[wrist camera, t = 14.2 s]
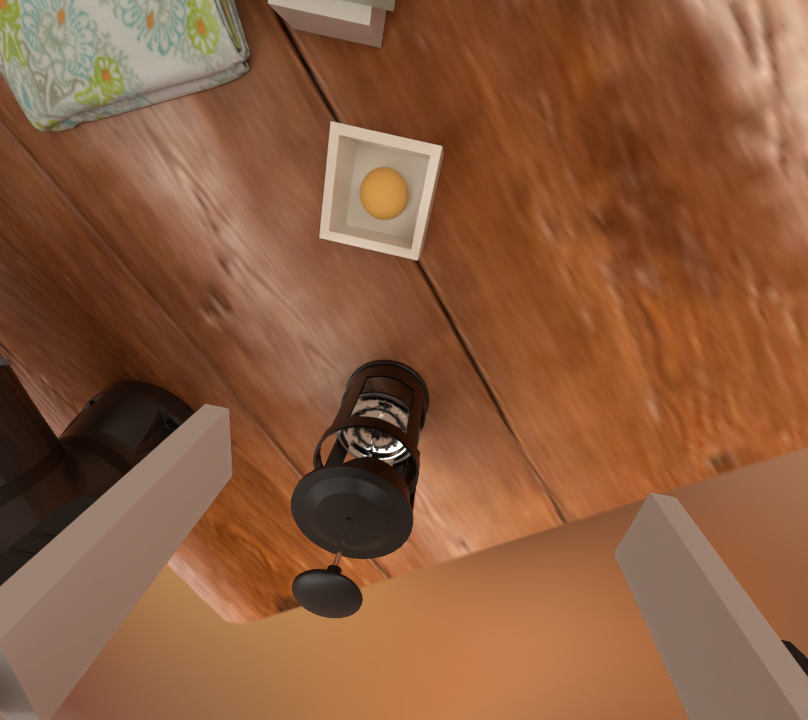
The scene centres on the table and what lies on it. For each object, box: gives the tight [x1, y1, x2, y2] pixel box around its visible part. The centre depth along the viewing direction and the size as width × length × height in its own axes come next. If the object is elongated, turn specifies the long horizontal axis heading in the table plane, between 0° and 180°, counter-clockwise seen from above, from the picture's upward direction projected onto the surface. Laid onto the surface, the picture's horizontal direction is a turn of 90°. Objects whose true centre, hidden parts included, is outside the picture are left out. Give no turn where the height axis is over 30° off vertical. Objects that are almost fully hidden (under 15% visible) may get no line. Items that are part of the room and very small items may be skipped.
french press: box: [291, 360, 429, 618], centre depth 32 cm, size 12×9×23 cm
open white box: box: [319, 121, 444, 261], centre depth 31 cm, size 8×8×6 cm
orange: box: [360, 167, 408, 220], centre depth 31 cm, size 4×4×4 cm
